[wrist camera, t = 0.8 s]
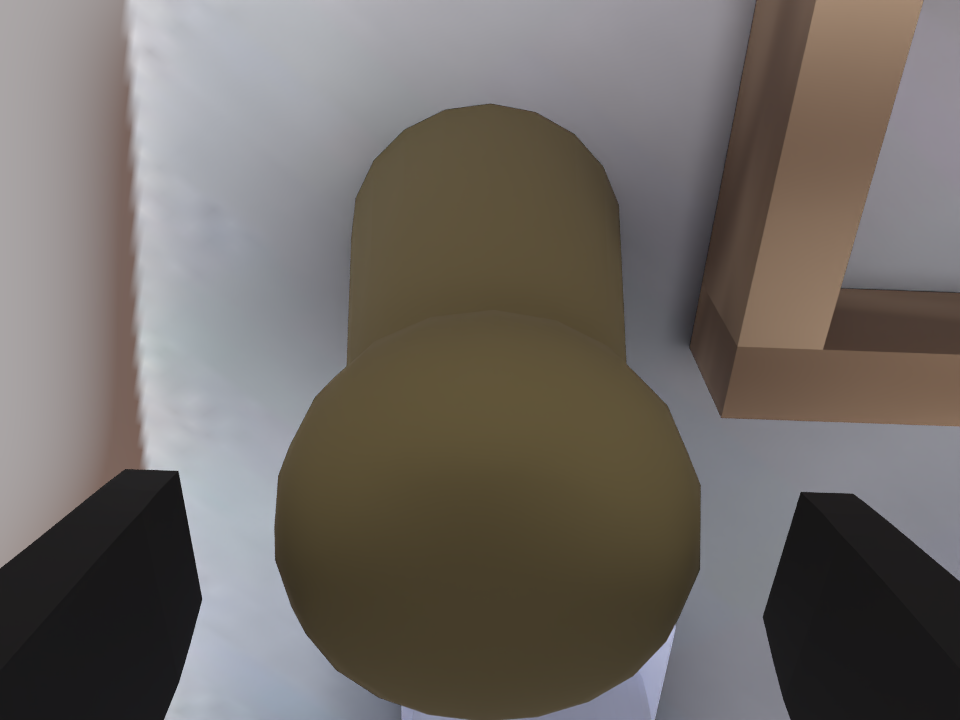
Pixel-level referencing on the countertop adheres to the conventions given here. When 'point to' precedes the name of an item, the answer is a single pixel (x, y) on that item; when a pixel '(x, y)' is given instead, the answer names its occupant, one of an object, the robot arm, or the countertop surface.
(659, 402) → the olive rounded peg
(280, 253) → the countertop surface
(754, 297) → the socket block
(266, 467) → the countertop surface
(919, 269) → the countertop surface
